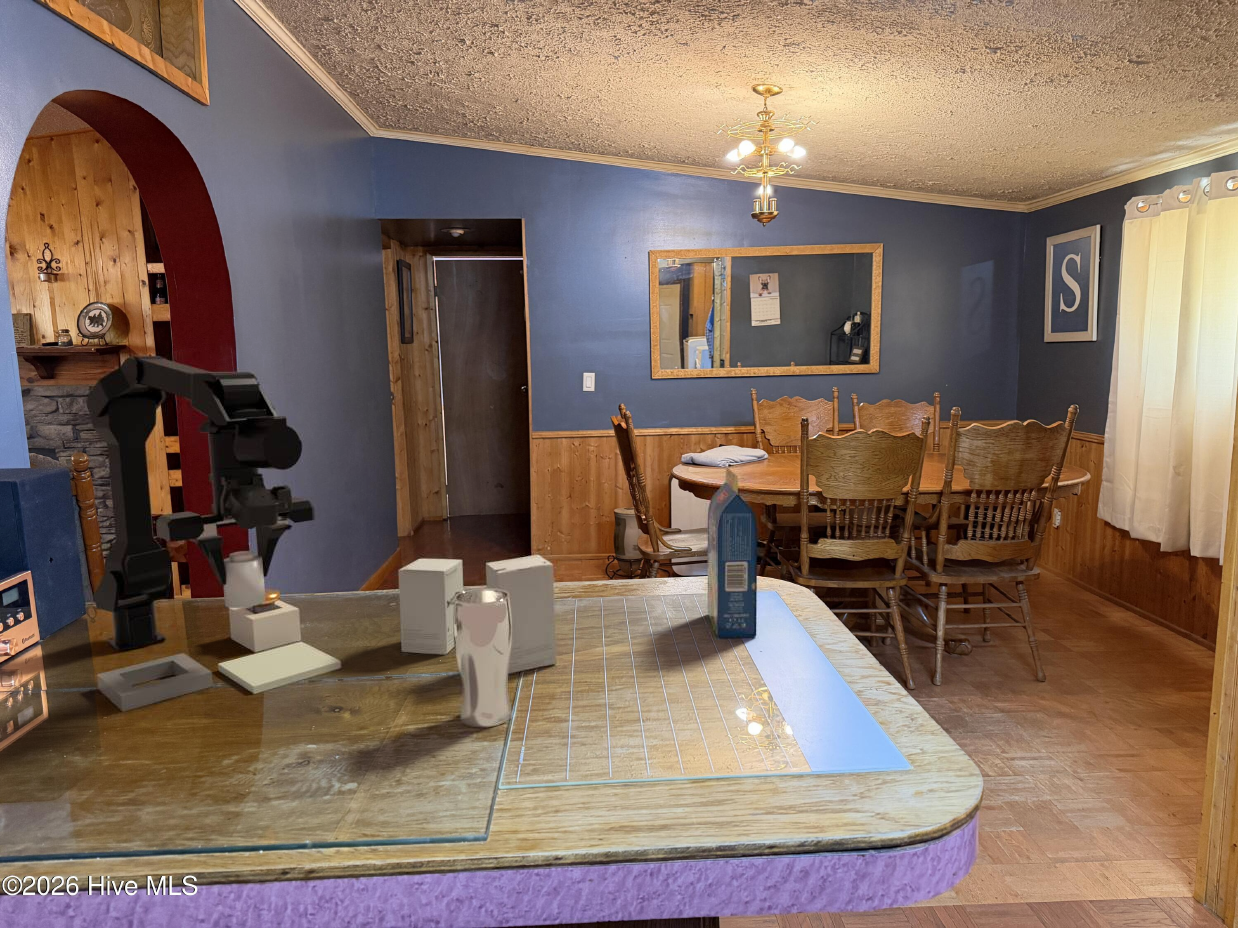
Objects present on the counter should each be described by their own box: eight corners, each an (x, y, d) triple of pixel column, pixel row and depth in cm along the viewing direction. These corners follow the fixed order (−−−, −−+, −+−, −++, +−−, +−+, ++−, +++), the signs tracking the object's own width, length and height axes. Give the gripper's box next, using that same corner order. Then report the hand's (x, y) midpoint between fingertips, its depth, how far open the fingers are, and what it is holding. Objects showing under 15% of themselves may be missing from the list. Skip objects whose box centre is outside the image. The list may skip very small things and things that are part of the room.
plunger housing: (231, 638, 127) (228, 607, 126) (275, 627, 132) (273, 597, 131) (255, 652, 120) (252, 619, 120) (301, 640, 126) (298, 608, 125)
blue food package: (744, 613, 136) (744, 465, 133) (757, 637, 124) (758, 475, 121) (706, 614, 136) (706, 466, 133) (716, 638, 124) (716, 476, 121)
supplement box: (447, 655, 118) (443, 571, 117) (400, 652, 120) (396, 568, 118) (466, 638, 125) (463, 558, 124) (422, 635, 127) (418, 556, 125)
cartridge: (219, 602, 111) (215, 554, 110) (256, 595, 114) (253, 547, 113) (233, 610, 107) (229, 559, 106) (271, 601, 111) (267, 552, 110)
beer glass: (460, 705, 101) (455, 588, 99) (516, 703, 101) (513, 586, 99) (453, 731, 94) (448, 605, 92) (514, 728, 94) (510, 603, 92)
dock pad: (218, 670, 113) (218, 663, 113) (301, 647, 122) (301, 641, 122) (254, 693, 105) (253, 686, 105) (340, 667, 114) (340, 660, 114)
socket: (98, 688, 108) (97, 674, 107) (184, 666, 115) (183, 652, 115) (122, 711, 100) (121, 696, 100) (212, 686, 108) (211, 671, 108)
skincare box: (543, 652, 119) (540, 553, 117) (558, 666, 114) (556, 562, 112) (487, 662, 115) (484, 560, 113) (500, 676, 110) (497, 569, 108)
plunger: (243, 628, 126) (240, 594, 125) (273, 621, 129) (271, 587, 129) (255, 635, 123) (253, 600, 122) (287, 627, 126) (284, 593, 125)
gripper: (179, 479, 96) (190, 607, 98) (329, 463, 109) (336, 576, 111) (150, 472, 104) (161, 590, 106) (293, 458, 117) (301, 564, 119)
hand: (243, 580), depth 110 cm, fingers closed on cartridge, 5 cm apart
